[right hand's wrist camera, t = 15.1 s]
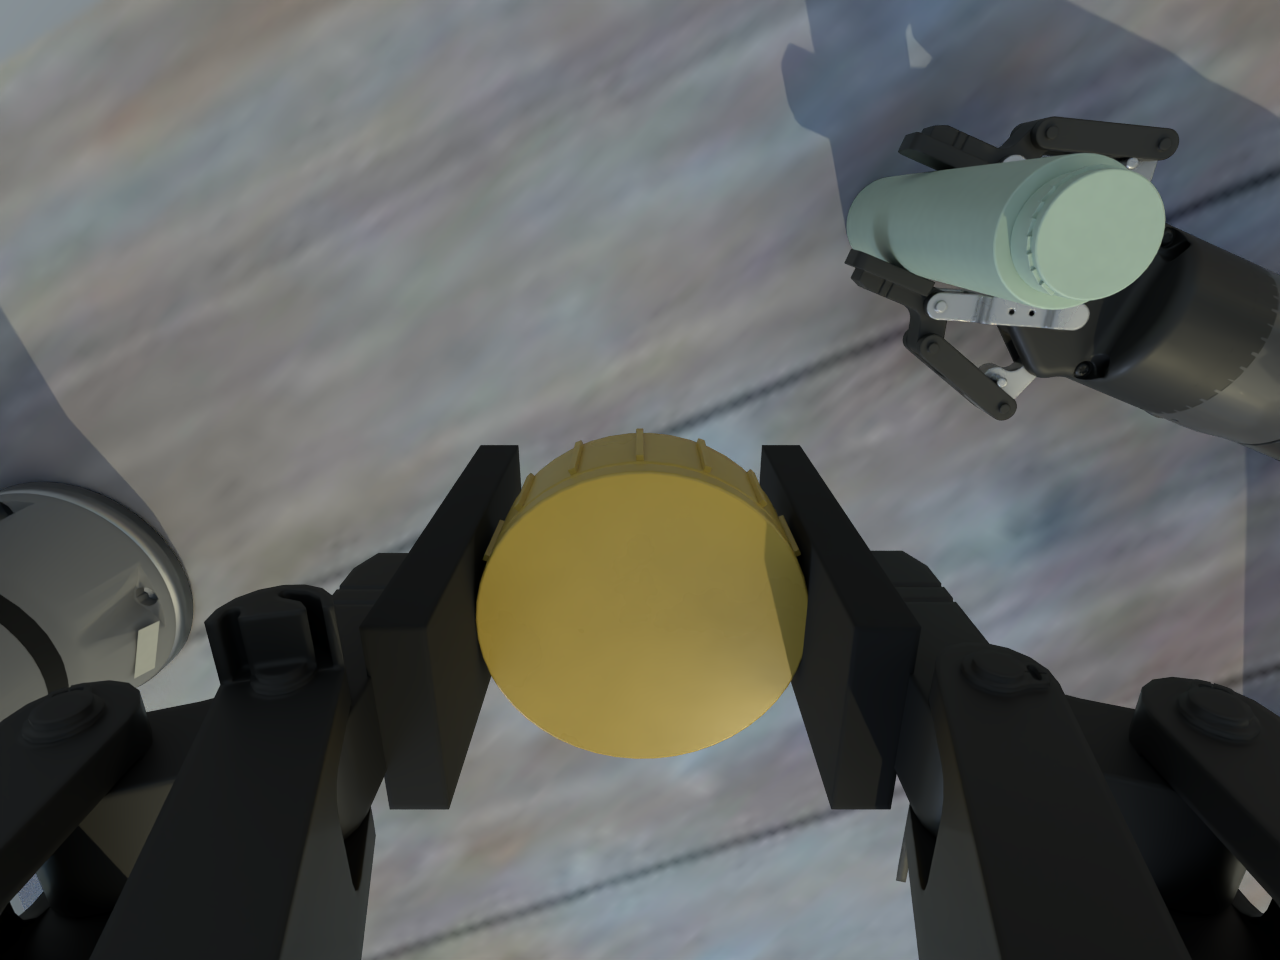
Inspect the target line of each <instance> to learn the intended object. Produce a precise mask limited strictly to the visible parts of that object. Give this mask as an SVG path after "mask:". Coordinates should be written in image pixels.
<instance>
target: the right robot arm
mask: <svg viewBox="0 0 1280 960" xmlns="http://www.w3.org/2000/svg"><path fill="white" fill-rule="evenodd" d="M760 487H761V488H762V490H763V491H764V492H765V493H766V495H767V496H768V498H769V500H770V502H771V503H772V505H773V507H774V508H775V510H776V512H777V515H778V517H779V516H782V515H783V516H784V518H785V520H786V522H787V524H788V527H789V529H790V531H791V533H792V535H793V537H794V539H795V542H796V544H797V546H798V548H799V550H800V553H801V555H800V556H797V559H798V562H799V564H800V567H801V570H802V572H803V575H804V577H805V582H806V586H807V590H808V604H807V615H806V625H805V635H804V645H803V654H802V659H801V661H800V664H799V666H798V669H797V671H796V673H795V674H794V676H793V678H792V680H791V683H792V686H793V690H794V693H795V696H796V699H797V702H798V705H799V708H800V712H801V715H802V718H803V721H804V724H805V727H806V731H807V734H808V737H809V740H810V743H811V746H812V749H813V753H814V756H815V759H816V762H817V765H818V768H819V772H820V775H821V778H822V781H823V784H824V787H825V790H826V794H827V797H828V800H829V803H830V806H831V809H891V804H892V798H893V792H894V786H895V780H896V775H898V778H899V780H900V782H901V784H902V786H903V789H904V791H905V793H906V795H907V798H908V800H909V802H910V805H909V810H908V816H907V821H906V826H905V832H904V837H903V843H902V848H901V854H900V859H899V865H898V871H897V878H896V881H901V882H906V878H907V872H908V869H909V878H910V887H911V895H912V904H913V912H914V921H915V929H916V938H917V946H918V955H919V960H1280V717H1279V716H1277V715H1276V714H1274V713H1273V712H1271V711H1270V710H1268V709H1267V708H1265V707H1264V706H1262V705H1261V704H1259V703H1257V702H1256V701H1254V700H1252V699H1250V698H1248V697H1245V696H1243V695H1241V694H1239V693H1236V692H1234V691H1233V690H1232V689H1230V688H1227V687H1224V686H1221V685H1218V684H1215V683H1214V684H1211V682H1207V681H1203V680H1197V679H1186V678H1177V677H1168V678H1161V679H1154V680H1152V681H1150V682H1149V683H1148V684H1146V685H1145V686H1144V687H1142V690H1141V693H1140V696H1139V699H1138V702H1137V706H1136V709H1131V708H1126V707H1121V706H1115V705H1110V704H1105V703H1100V702H1095V701H1090V700H1085V699H1080V698H1076V697H1072V696H1068V695H1065V694H1064V692H1063V690H1062V688H1061V686H1060V684H1059V683H1058V681H1057V680H1056V679H1055V678H1054V676H1053V675H1052V674H1051V672H1050V671H1049V670H1048V669H1046V668H1045V667H1043V666H1042V665H1041V664H1039V663H1038V662H1036V661H1035V660H1033V659H1032V658H1030V657H1028V656H1026V655H1023V654H1021V653H1018V652H1016V651H1014V650H1011V649H1009V648H1005V647H1001V646H996V645H992V644H989V643H988V641H987V640H986V639H985V638H984V636H983V635H982V634H981V633H980V631H979V630H978V629H977V628H976V626H975V625H974V624H973V623H972V621H971V620H970V619H969V618H968V616H967V615H966V614H965V613H964V611H963V610H962V609H961V608H960V606H959V605H958V604H957V603H956V602H953V598H952V596H951V595H950V594H949V593H948V591H947V590H946V589H945V588H944V587H941V583H940V581H939V580H938V579H937V578H936V576H935V575H934V574H933V573H932V571H931V570H930V569H929V568H928V566H926V565H925V564H923V563H921V562H920V561H918V560H917V559H915V558H913V557H912V556H910V555H908V554H907V553H905V552H903V551H870V549H869V548H868V546H867V545H866V544H865V542H864V541H863V539H862V538H861V536H860V535H859V533H858V532H857V530H856V529H855V527H854V526H853V524H852V523H851V521H850V520H849V518H848V517H847V515H846V514H845V512H844V511H843V509H842V508H841V506H840V505H839V503H838V502H837V500H836V499H835V497H834V496H833V494H832V493H831V491H830V490H829V488H828V487H827V485H826V484H825V482H824V481H823V479H822V478H821V476H820V475H819V473H818V472H817V470H816V469H815V467H814V466H813V464H812V463H811V461H810V460H809V458H808V457H807V455H806V454H805V452H804V451H803V449H802V448H801V446H800V445H762V455H761V470H760ZM520 492H521V478H520V463H519V448H518V445H481V446H480V447H479V449H478V450H477V452H476V453H475V455H474V456H473V458H472V459H471V460H470V462H469V463H468V465H467V466H466V468H465V469H464V471H463V472H462V474H461V475H460V477H459V478H458V480H457V481H456V483H455V484H454V486H453V487H452V489H451V490H450V492H449V493H448V495H447V496H446V498H445V499H444V501H443V502H442V504H441V505H440V507H439V508H438V510H437V511H436V513H435V514H434V516H433V517H432V519H431V520H430V522H429V523H428V525H427V526H426V528H425V529H424V531H423V532H422V534H421V535H420V537H419V538H418V540H417V541H416V543H415V544H414V546H413V547H412V549H411V550H410V552H409V553H378V554H376V555H375V556H373V557H371V558H370V559H368V560H366V561H365V562H363V563H361V564H360V565H358V566H357V567H355V568H354V569H353V570H352V571H351V572H350V574H349V575H348V576H347V577H346V579H345V580H344V581H343V582H342V584H341V585H340V589H339V590H336V591H335V593H334V594H333V595H331V594H329V593H328V592H327V591H325V590H324V589H323V588H319V587H314V586H309V585H281V586H276V587H271V588H266V589H261V590H257V591H254V592H251V593H249V594H246V595H243V596H240V597H238V598H235V599H233V600H232V601H230V602H228V603H227V604H225V605H223V606H221V607H220V608H218V609H216V610H215V611H214V612H213V613H212V614H211V615H210V617H209V618H208V619H207V620H206V621H205V622H204V623H205V627H206V631H207V635H208V639H209V643H210V646H211V650H212V654H213V658H214V662H215V665H216V669H217V673H218V677H219V681H220V684H221V685H220V687H219V689H218V691H217V693H216V695H215V697H214V698H213V699H209V700H205V701H201V702H196V703H191V704H186V705H181V706H176V707H171V708H166V709H161V710H155V711H150V712H146V710H145V707H144V704H143V701H142V697H141V694H140V691H139V690H138V689H136V687H139V686H141V685H143V684H144V683H146V682H147V681H149V680H150V679H152V678H153V677H154V676H155V675H157V674H158V673H159V672H160V671H161V670H162V669H163V668H164V667H165V666H166V665H167V664H168V663H169V662H170V661H171V660H173V658H174V657H175V656H176V655H177V654H178V653H179V652H180V650H181V649H182V648H183V646H184V644H185V642H186V641H187V638H188V636H189V633H190V630H191V626H192V619H193V602H192V595H191V591H190V587H189V584H188V581H187V578H186V575H185V573H184V571H183V569H182V567H181V565H180V563H179V561H178V560H177V558H176V556H175V555H174V553H173V552H172V550H171V549H170V548H169V546H168V545H167V544H166V543H165V541H164V540H163V539H162V538H161V537H160V536H159V535H158V534H157V533H156V532H155V531H154V529H153V528H151V527H150V526H149V525H148V524H147V523H146V522H145V521H144V520H142V519H141V518H140V517H138V516H137V515H136V514H134V513H133V512H132V511H130V510H128V509H127V508H125V507H124V506H122V505H120V504H119V503H117V502H115V501H113V500H112V499H109V498H107V497H105V496H103V495H101V494H98V493H96V492H93V491H90V490H88V489H84V488H81V487H77V486H73V485H68V484H63V483H54V482H31V483H24V484H18V485H14V486H11V487H8V488H5V489H3V490H0V960H361V957H362V948H363V940H364V931H365V923H366V914H367V905H368V897H369V888H370V880H371V871H372V863H373V854H374V845H375V837H376V834H375V828H374V821H373V816H372V810H371V804H372V802H373V800H374V798H375V796H376V793H377V791H378V789H379V787H380V784H381V782H382V780H383V778H385V784H386V790H387V795H388V801H389V807H390V809H449V808H450V804H451V801H452V798H453V795H454V792H455V789H456V786H457V782H458V779H459V776H460V773H461V770H462V767H463V763H464V760H465V757H466V754H467V751H468V748H469V745H470V741H471V738H472V735H473V732H474V729H475V726H476V722H477V719H478V716H479V713H480V710H481V707H482V704H483V700H484V697H485V694H486V691H487V688H488V685H489V681H490V678H491V674H490V672H489V670H488V667H487V665H486V663H485V660H484V658H483V655H482V652H481V648H480V644H479V641H478V636H477V627H476V599H477V594H478V589H479V583H480V580H481V577H482V574H483V571H484V569H485V566H486V563H487V561H484V560H483V557H484V554H485V552H486V550H487V547H488V545H489V543H490V541H491V539H492V536H493V534H494V532H495V530H496V527H497V525H498V523H499V521H500V520H503V521H505V519H506V517H507V514H508V513H509V511H510V509H511V507H512V505H513V503H514V501H515V499H516V498H517V497H518V495H519V494H520ZM1246 869H1247V871H1248V872H1249V873H1250V874H1251V875H1252V876H1253V877H1254V878H1255V879H1256V881H1257V882H1258V883H1259V884H1260V885H1261V886H1262V887H1263V888H1264V889H1265V890H1266V892H1267V893H1268V894H1269V895H1270V896H1271V897H1272V900H1271V902H1270V905H1269V907H1268V909H1267V910H1266V912H1265V913H1264V914H1263V913H1261V912H1260V911H1259V910H1258V909H1257V908H1256V907H1255V906H1253V905H1252V904H1251V903H1250V902H1249V901H1248V899H1247V898H1246V897H1245V896H1244V895H1243V894H1242V892H1241V891H1240V890H1239V889H1238V888H1239V885H1240V883H1241V881H1242V878H1243V876H1244V874H1245V871H1246ZM35 873H36V875H37V877H38V879H39V882H40V884H41V886H42V889H43V893H42V894H41V895H40V896H39V897H38V898H37V900H36V901H35V902H34V903H33V904H32V905H31V906H30V907H29V908H28V909H27V910H25V911H24V912H23V913H22V914H21V915H19V916H18V915H17V914H16V913H15V912H14V910H13V908H12V905H11V903H10V901H11V900H12V899H13V898H14V897H15V895H16V894H17V893H18V892H19V891H20V890H21V889H22V888H23V887H24V885H25V884H26V883H27V882H28V881H29V880H30V879H31V878H32V876H33V875H34V874H35Z"/></svg>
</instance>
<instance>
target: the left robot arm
mask: <svg viewBox="0 0 1280 960" xmlns="http://www.w3.org/2000/svg"><path fill="white" fill-rule="evenodd" d="M1178 144H1179V136H1178V134H1177V132H1176V131H1174V130H1173V129H1169V128H1160V127H1150V126H1141V125H1131V124H1122V123H1112V122H1102V121H1093V120H1083V119H1073V118H1064V117H1049V118H1044V119H1040V120H1035V121H1031V122H1026V123H1022V124H1020V125H1018V126H1016V127H1015V128H1014V129H1013V131H1012V132H1011V135H1010V138H1009V139H1008V140H1007V141H1006V142H1005V143H1004V144H1003V145H1002V146H1001V147H999V148H996V147H994V146H992V145H990V144H988V143H985V142H983V141H981V140H979V139H977V138H974V137H972V136H970V135H967V134H966V133H963V132H961V131H959V130H957V129H955V128H953V127H950V126H948V125H939V126H932V127H928V128H925V129H923V131H922V133H920V132H915V133H912V134H908V135H906V136H905V138H904V140H903V142H902V144H901V146H900V148H899V151H898V152H899V153H900V154H902V155H904V156H906V157H908V158H911V159H913V160H915V161H917V162H919V163H922V164H924V165H926V166H928V167H931V168H933V169H935V170H937V171H940V170H948V169H956V168H964V167H972V166H980V165H988V164H996V163H1004V162H1012V161H1020V160H1028V159H1036V158H1041V157H1042V156H1043V155H1047V156H1060V155H1068V154H1076V153H1095V154H1100V155H1105V156H1107V157H1110V158H1112V159H1114V160H1116V161H1118V162H1120V163H1121V164H1123V165H1124V166H1125V167H1126V168H1127V169H1128V170H1132V171H1134V172H1137V173H1139V174H1140V175H1142V176H1144V177H1145V178H1146V179H1148V180H1149V181H1150V182H1151V180H1152V177H1153V174H1154V171H1155V168H1156V165H1157V162H1158V160H1164V159H1167V158H1169V157H1170V156H1171V155H1173V154H1174V152H1175V151H1176V149H1177V147H1178ZM845 264H848V265H850V266H852V267H855V270H854V272H853V274H852V276H851V279H852V280H853V281H854V282H855V283H856V284H857V285H858V286H860V287H862V288H864V289H867V290H869V291H872V292H874V293H876V294H879V295H881V296H883V297H886V298H888V299H891V300H893V301H895V302H898V303H900V304H902V305H904V306H905V307H906V308H907V309H908V310H909V313H910V324H909V329H908V330H907V331H906V332H905V334H904V336H903V344H904V346H905V347H906V348H907V349H908V350H909V351H910V352H911V353H913V354H914V355H915V356H916V357H917V358H919V359H920V360H921V361H922V362H923V363H924V364H926V365H927V366H928V367H929V368H930V369H932V370H933V371H934V372H935V373H936V374H938V375H939V376H940V377H941V378H942V379H943V380H945V381H946V382H947V383H948V384H949V385H951V386H952V387H953V388H954V389H955V390H956V391H958V392H959V393H960V394H961V395H962V396H964V397H965V398H966V399H967V400H968V401H970V402H971V403H972V404H973V405H975V406H976V407H978V408H979V409H981V410H982V411H984V412H985V413H987V414H989V415H990V416H992V417H993V418H995V419H997V420H1006V419H1009V418H1010V417H1012V416H1013V414H1014V413H1015V411H1016V408H1017V404H1016V401H1015V400H1014V399H1015V398H1016V397H1017V396H1018V395H1019V394H1020V393H1021V392H1022V391H1023V390H1024V389H1025V388H1026V387H1027V386H1028V385H1029V384H1030V383H1031V382H1032V381H1033V380H1034V379H1035V378H1036V377H1040V378H1049V377H1056V376H1061V377H1067V378H1069V379H1071V380H1074V381H1076V382H1078V383H1081V384H1083V385H1086V386H1088V387H1090V388H1093V389H1095V390H1098V391H1100V392H1102V393H1105V394H1107V395H1109V396H1112V397H1114V398H1117V399H1119V400H1121V401H1124V402H1126V403H1129V404H1131V405H1133V406H1136V407H1139V408H1141V409H1143V410H1145V411H1146V412H1148V413H1149V414H1151V415H1153V416H1155V417H1158V418H1164V419H1167V420H1169V421H1172V422H1174V423H1177V424H1179V425H1181V426H1184V427H1187V428H1189V429H1192V430H1195V431H1198V432H1201V433H1205V434H1209V435H1213V436H1218V437H1221V438H1225V439H1228V440H1231V441H1234V442H1236V443H1239V444H1241V445H1243V446H1246V447H1248V448H1250V449H1253V450H1255V451H1258V452H1260V453H1262V454H1265V455H1267V456H1270V457H1272V458H1274V459H1277V460H1279V461H1280V275H1278V274H1276V273H1274V272H1272V271H1269V270H1267V269H1265V268H1263V267H1261V266H1259V265H1256V264H1254V263H1252V262H1250V261H1248V260H1245V259H1243V258H1241V257H1239V256H1237V255H1234V254H1232V253H1230V252H1228V251H1226V250H1223V249H1221V248H1219V247H1217V246H1215V245H1212V244H1210V243H1208V242H1206V241H1204V240H1202V239H1199V238H1197V237H1195V236H1193V235H1191V234H1188V233H1186V232H1184V231H1182V230H1180V229H1177V228H1175V227H1173V226H1171V225H1169V224H1167V223H1165V229H1164V234H1163V238H1162V242H1161V245H1160V247H1159V249H1158V251H1157V254H1156V255H1155V257H1154V259H1153V261H1152V262H1151V263H1150V265H1149V266H1148V268H1147V269H1146V270H1145V271H1144V272H1143V273H1142V274H1141V276H1139V277H1138V278H1137V279H1136V280H1135V281H1134V282H1133V283H1131V284H1130V285H1129V286H1127V287H1126V288H1124V289H1122V290H1121V291H1119V292H1117V293H1115V294H1113V295H1110V296H1108V297H1105V298H1101V299H1097V300H1090V301H1088V302H1086V303H1083V304H1081V305H1078V306H1075V307H1071V308H1066V309H1057V310H1048V309H1040V308H1035V307H1032V306H1028V305H1024V304H1020V303H1017V302H1013V301H1009V300H1006V299H1002V298H998V297H995V296H991V295H987V294H983V293H980V292H976V291H972V290H969V289H948V288H935V287H933V286H934V284H935V282H933V281H931V280H928V279H926V278H924V277H921V276H918V275H916V274H914V273H912V272H909V271H907V270H905V269H902V268H900V267H898V266H895V265H893V264H891V263H888V262H886V261H884V260H881V259H879V258H877V257H874V256H872V255H869V254H867V253H864V252H862V251H859V250H855V249H851V250H850V252H849V254H848V257H847V259H846V261H845ZM947 320H949V321H965V322H976V323H982V324H990V325H997V327H998V329H999V331H1000V333H1001V335H1002V338H1003V340H1004V342H1005V344H1006V346H1007V348H1008V351H1009V353H1010V355H1011V357H1012V359H1013V361H1014V363H1013V364H1011V365H1010V366H1007V367H999V366H997V365H995V364H992V363H986V364H984V365H982V366H980V367H979V368H977V367H976V366H975V365H974V364H973V363H971V362H970V361H969V360H968V359H967V358H966V357H964V356H963V355H962V354H961V353H960V352H959V351H957V350H956V349H955V348H954V347H953V346H952V345H950V344H949V343H948V342H947V341H946V340H945V339H944V335H945V329H946V323H947Z"/></svg>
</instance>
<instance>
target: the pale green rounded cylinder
mask: <svg viewBox="0 0 1280 960" xmlns="http://www.w3.org/2000/svg"><path fill="white" fill-rule="evenodd" d="M846 229H847V236H848V240H849V242H850V245H851V246H852V248H853V249H855V250H859V251H862V252H864V253H867V254H869V255H872V256H874V257H877V258H879V259H881V260H884V261H886V262H888V263H891V264H893V265H895V266H898V267H900V268H902V269H905V270H907V271H909V272H912V273H914V274H916V275H918V276H921V277H924V278H928V279H932V280H935V281H939V282H943V283H946V284H950V285H954V286H958V287H961V288H965V289H969V290H972V291H976V292H980V293H983V294H987V295H991V296H995V297H998V298H1002V299H1006V300H1009V301H1013V302H1017V303H1020V304H1024V305H1028V306H1032V307H1035V308H1040V309H1048V310H1057V309H1066V308H1071V307H1075V306H1078V305H1081V304H1083V303H1086V302H1088V301H1090V300H1097V299H1101V298H1105V297H1108V296H1110V295H1113V294H1115V293H1117V292H1119V291H1121V290H1122V289H1124V288H1126V287H1127V286H1129V285H1130V284H1131V283H1133V282H1134V281H1135V280H1136V279H1137V278H1138V277H1139V276H1141V274H1142V273H1143V272H1144V271H1145V270H1146V269H1147V268H1148V266H1149V265H1150V263H1151V262H1152V261H1153V259H1154V257H1155V255H1156V254H1157V251H1158V249H1159V247H1160V245H1161V242H1162V238H1163V234H1164V229H1165V210H1164V205H1163V202H1162V199H1161V196H1160V194H1159V193H1158V191H1157V189H1156V188H1155V187H1154V185H1153V184H1152V183H1151V182H1150V181H1149V180H1148V179H1146V178H1145V177H1144V176H1142V175H1140V174H1139V173H1137V172H1134V171H1132V170H1128V169H1127V168H1126V167H1125V166H1124V165H1123V164H1121V163H1120V162H1118V161H1116V160H1114V159H1112V158H1110V157H1107V156H1105V155H1100V154H1095V153H1076V154H1068V155H1060V156H1052V157H1044V158H1036V159H1028V160H1020V161H1012V162H1004V163H996V164H988V165H980V166H972V167H964V168H956V169H948V170H940V171H932V172H924V173H916V174H908V175H900V176H892V177H885V178H881V179H879V180H876V181H874V182H872V183H871V184H869V185H868V186H866V187H865V188H864V189H863V190H862V191H861V192H860V193H859V194H858V195H857V197H856V198H855V199H854V201H853V203H852V205H851V207H850V210H849V213H848V216H847V225H846Z"/></svg>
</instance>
